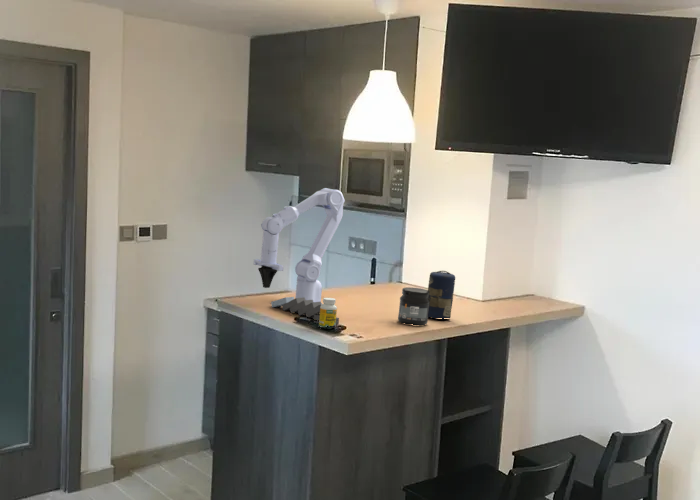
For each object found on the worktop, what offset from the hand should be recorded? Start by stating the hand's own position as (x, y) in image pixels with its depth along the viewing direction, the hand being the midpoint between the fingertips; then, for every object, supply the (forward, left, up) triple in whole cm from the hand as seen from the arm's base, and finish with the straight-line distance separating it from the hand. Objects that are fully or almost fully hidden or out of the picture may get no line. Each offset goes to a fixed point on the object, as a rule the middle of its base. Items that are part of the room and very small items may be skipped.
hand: (266, 287), depth 276 cm
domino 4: (0, +20, -5) cm, 21 cm away
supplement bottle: (+6, +39, -6) cm, 40 cm away
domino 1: (0, +6, -5) cm, 8 cm away
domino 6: (0, +28, -5) cm, 29 cm away
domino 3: (0, +16, -5) cm, 17 cm away
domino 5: (0, +24, -5) cm, 25 cm away
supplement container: (-30, +45, -6) cm, 54 cm away
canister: (-47, +43, -6) cm, 64 cm away
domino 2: (0, +12, -5) cm, 13 cm away
